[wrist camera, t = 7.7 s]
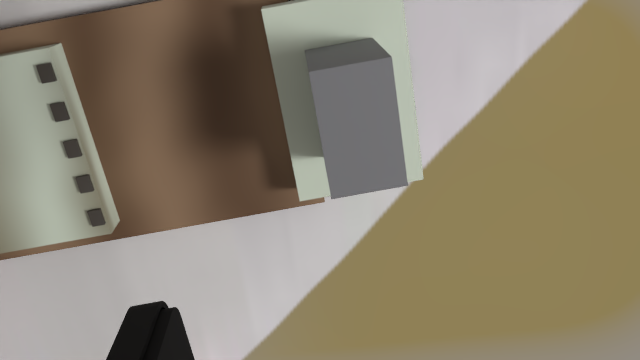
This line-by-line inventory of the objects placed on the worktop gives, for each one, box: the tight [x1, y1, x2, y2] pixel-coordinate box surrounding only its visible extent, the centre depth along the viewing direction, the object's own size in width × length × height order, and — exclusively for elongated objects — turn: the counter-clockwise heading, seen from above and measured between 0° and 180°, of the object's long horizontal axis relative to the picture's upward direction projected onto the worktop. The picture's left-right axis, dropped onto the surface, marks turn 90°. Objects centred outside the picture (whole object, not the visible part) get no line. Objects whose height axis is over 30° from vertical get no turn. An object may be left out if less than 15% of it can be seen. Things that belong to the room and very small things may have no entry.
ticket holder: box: [0, 0, 325, 260], centre depth 28 cm, size 20×11×3 cm, turn 100°
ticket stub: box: [261, 0, 423, 201], centre depth 25 cm, size 6×9×6 cm, turn 10°
